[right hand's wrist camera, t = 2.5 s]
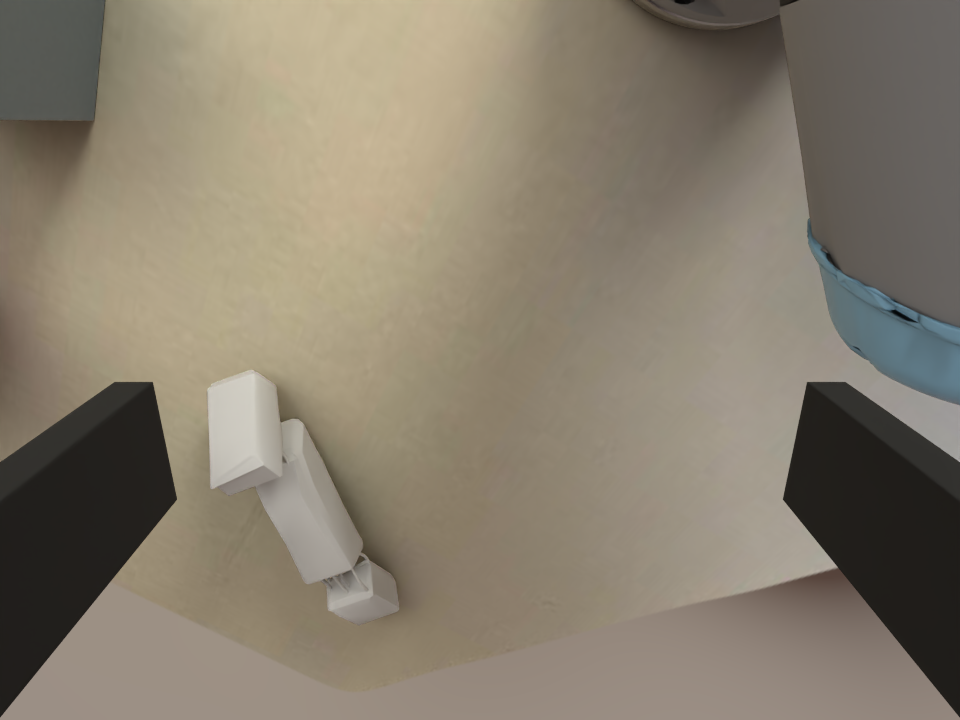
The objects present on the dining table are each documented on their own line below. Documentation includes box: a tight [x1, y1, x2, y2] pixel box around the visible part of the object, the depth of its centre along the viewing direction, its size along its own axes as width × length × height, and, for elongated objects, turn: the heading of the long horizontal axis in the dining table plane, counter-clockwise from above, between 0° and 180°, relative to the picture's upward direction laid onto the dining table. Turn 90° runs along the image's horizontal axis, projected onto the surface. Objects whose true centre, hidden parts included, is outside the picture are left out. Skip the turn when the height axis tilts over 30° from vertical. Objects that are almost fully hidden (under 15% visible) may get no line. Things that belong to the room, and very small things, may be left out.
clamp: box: [207, 370, 399, 625], centre depth 40 cm, size 20×4×7 cm, turn 23°
